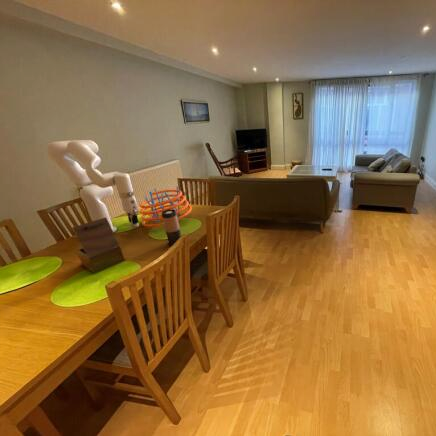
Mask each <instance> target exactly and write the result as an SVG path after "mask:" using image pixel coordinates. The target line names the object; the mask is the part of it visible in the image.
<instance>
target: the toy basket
mask: <svg viewBox="0 0 436 436" xmlns="http://www.w3.org/2000/svg"><path fill="white" fill-rule="evenodd" d="M148 193H149V195H150V199H148V197H147V196H144V199H145V200H144V201H143V202H141V203H140V204H139V207H140V208H142V209H140V213H141V220H142V222H141V225H142V226H143V227H146V228H156V227H162V226H164V222H161V223H160V220H163V218H162V215H161V216H159V214H162V212H163V211H165V210H175V211H176V214H178V216H177V219H178V222H179V221H180V220H182V219H183V218H185V217H187V216H188V215H189V214H190V213H191V212H192V209H193V206H191V204H189V201H188V200H186V196H185V195H183V192H182V190H179V186H178V185H176V189H162V190H158V191H157V189H156V188H154V192H153V191H151V190H150V191H148ZM167 193H172V194H167ZM174 193H175V194H174ZM158 194H160V195H158ZM163 194H164V195H163ZM154 195H155V196H156V197H154ZM172 197H173V198H172ZM165 198H166V200H164V199H165ZM156 200H157V202H155V201H156ZM150 202H151V203H150ZM173 202H177V203H173ZM146 204H148V205H146ZM181 206H183V207H181ZM180 207H181V208H180ZM187 208H189V209H187ZM148 209H150V210H148ZM186 209H187V211H186V212H184V213H183V214H182V215H181V212H182V211H184V210H186ZM147 210H148V211H147ZM147 215H149V216H147ZM146 216H147V217H146ZM156 221H157V222H158V223H156ZM146 222H153V223H154V224H146Z"/></svg>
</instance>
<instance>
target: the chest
mask: <svg viewBox="0 0 436 436" xmlns="http://www.w3.org/2000/svg"><path fill="white" fill-rule="evenodd" d="M75 251H76V253H77V255H78V258H79V260H80V262H81V265H82V266H83V267H85V268H86V269H87V270H89V271H91V272H92V273H93V274H97V273H99V272H101V271H104V270H106V269H108V268H111V267H113V266H115V265H117V264H120V263H122V262H124V261H125V257H124V254H123V252H122V251H123V250H122V249H121V245H119V246H116V247H114V248H111V249H108V250H106V251H103V252H101V253H98V254H96V255H93V256H90V257H88V256H87V254H86V253H85V251H84V249H83V247H82V248H79V249H76V250H75Z"/></svg>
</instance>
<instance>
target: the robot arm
mask: <svg viewBox="0 0 436 436" xmlns="http://www.w3.org/2000/svg"><path fill="white" fill-rule="evenodd" d="M45 148H46V150H45V151H46V153H47V155H48V157H49V158H50V160H51V161H52V162H53V163H55V164H56V165H57V166H58V167H59V168H60V169H61V170H62V171H63V173H64V174H65V175H66V176H67V177H68V178H69V180H70V181H71V182H72V184H74V185H75V186H76V187H82V188H80V190H79V196H80V198H81V200H82V201H83V203H84V204H85V207H86V209H87V211H88V215H89V217H90V220H91V222H92V221H95V220H99V219H102V218H107V220H108V222H109V224H110V226H111V228H112V230H113V232H114V233H115V232H117V229H118V228H117V227H116V226H113V223H112V220H111V217H110V212H109V211H108V208H107V206H106V204H105V203H104V202H102V201H101V200H102V199H103V200H104V199H105V198H109V197H111V196H113V195H114V188H113V186H115V187H116V190H117V193H118V197H119V199H120V202H121V207H122V209H123V212H125V213H126V216H127V218H128V222H129V223H130V224H131V219H130V217H129V216H130V214H131V216H132V222H133V224H136V223H139V217H138V215H139V212H140V208H139V204H138V202H137V199H136V197H135V193H134V187H133V184H132V181H131V177H130V175H129V173H127V172H119V171H112V172H106V173H102V172H100V170H98V169H96V168H97V167H98V166H99V165H100V164H101V162H102V161H101V157H100V156H98V155H97V154H98V153H99V146H98V144H97V143H96V142H95V141H93V140H91V139H72V140H60V141H59V140H58V141H52V142H50V143H48V144H47V145H46V147H45ZM69 156H74V158H76V159H77V160H78V161H79V162H81V164H83V166H85V169H84V168H83V167H82V166H81V165H80V164H79V163H78V162H77V161H75V160H74V159H72V158H70V157H69ZM133 214H134V215H133Z"/></svg>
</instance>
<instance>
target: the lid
mask: <svg viewBox="0 0 436 436" xmlns="http://www.w3.org/2000/svg"><path fill="white" fill-rule="evenodd" d="M72 230H73V232H74V234H75V236H76V237H77V240H78V241H79V244H80V245H81V247H82V248H83V249H84V251H85V253H86V254H87V256H88V257H90V256H93V255H96V254H98V253H101V252H103V251H106V250H108V249H111V248H114V247H116V246H120V243H119V241H118V238H117V236H116V234H115V232H113V230H112V228H111V226H110V224H109V222H108V220H107V218H102V219H99V220H95V221H92V220H91V221H89V222H85V223H83V224H79V225H75V226H72Z"/></svg>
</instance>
